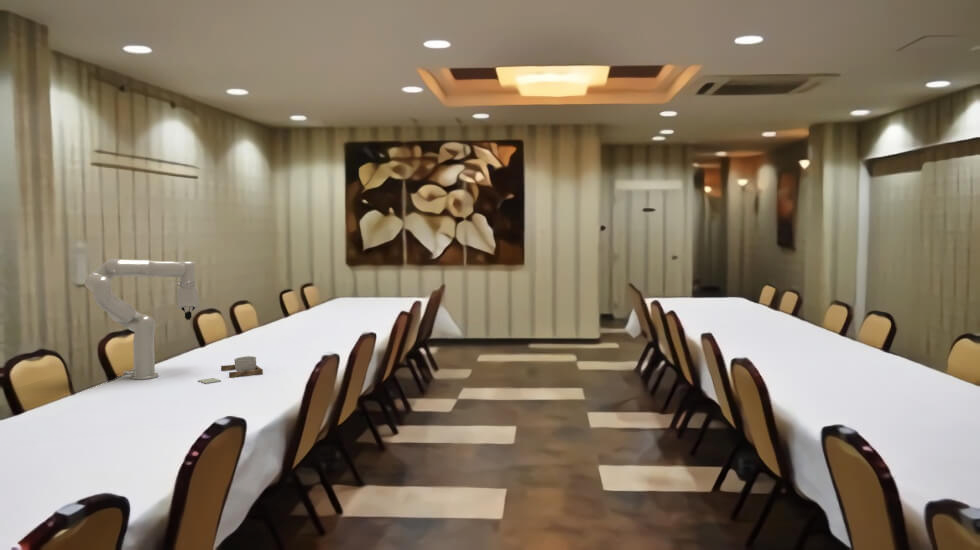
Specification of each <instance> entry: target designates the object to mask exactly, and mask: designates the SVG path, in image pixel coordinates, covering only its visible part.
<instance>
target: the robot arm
mask: <svg viewBox="0 0 980 550" xmlns="http://www.w3.org/2000/svg"><path fill="white" fill-rule="evenodd" d="M114 277H124V278H125V277H128V278H129V277H135V278H136V277H138V278H139V277H141V278H143V277H145V278H148V277H149V278H154V277H161V278H163V277H164V278H166V277H168V278H173V277H174V278H175V277H176V278H178V277H179V282H176V286H179V287H178V289H177V296H176V297H177V298H176V304H177V306H176V309H178V310H182V311H183V312H184V319H185V320H186V321H191V318H192V312H193V311H194V310H196V309H199V308H200V306H199V305H200V299H199V297H200V296H199V290H198V287H197V286H196V263H195V262H194V261H189V260H186V261H185V260H184V261H172V260H170V261H169V260H168V261H157V260H151V259H130V258H129V259H127V258H123V259H121V258H110V259H108V260H106V261H104V263H102V264H101V265H99V266H98V267H97V268H96V269H95V270H93V271H91V272H90V274H89V275H87V276H86V278H85V280H84V285H85V287H86V289H88V290H89V291H91V292H92V297H93V300H94V302H95V304H96V305H97V307H99V308H100V309H102V310H103V311H104V312H106V313H107V315H108V316H109V318H110V319H111V320H113V321H114V322H116V323H117V324H119V325H121V326H122V327H124V328H125V329H127V330H129V331H131V332H133V339H132V341H133V342H132V347H133V348H132V349H133V351H132V352H133V367H132V368H131V369H130V370H123V375H128V376H129V375H130V379H133V380H149V379H154V378H157V377H158V376H159V372H156V367H155V366H156V365H155V334H156V333H155V332H156V321H155V320H154V318H153V317H152V316H150V315H148V314H143V313H141V312H138V311H136V309H135V307H134V306H133V305H131V304H130V303H127V302H126V301H124V300H123V299H121V298H119V296H117V295H115V294H114V293H113V290H112V279H114Z"/></svg>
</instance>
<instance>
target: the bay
mask: <svg viewBox="0 0 980 550" xmlns="http://www.w3.org/2000/svg"><path fill="white" fill-rule="evenodd" d="M263 370H264V369H263V368H262V367H259V366H258V365H257V364H256V369H255V370H248V371H236V369H235V364H225V365H220V371H221V372H223V371H224V372H226V371H229V372H228V378H231V379H232V378H239V377H240V378H241V377H250V376H261V375H264V371H263Z"/></svg>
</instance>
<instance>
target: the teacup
mask: <svg viewBox="0 0 980 550" xmlns="http://www.w3.org/2000/svg"><path fill="white" fill-rule="evenodd" d="M233 360H234V365H235V369H236V370H235V372H237V371H248V370H255V369H256V365H257V356H252V355H246V356H240V357H236V358H234V359H233Z"/></svg>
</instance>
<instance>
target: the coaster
mask: <svg viewBox="0 0 980 550" xmlns="http://www.w3.org/2000/svg"><path fill="white" fill-rule="evenodd" d="M200 382H201V384H204V385H209V384H215V383H216V384H217V383H221V382H222V380H221V379H218V378H216V377H210V378H204V379H203V378H202V379H199V380H197V383H200Z"/></svg>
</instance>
